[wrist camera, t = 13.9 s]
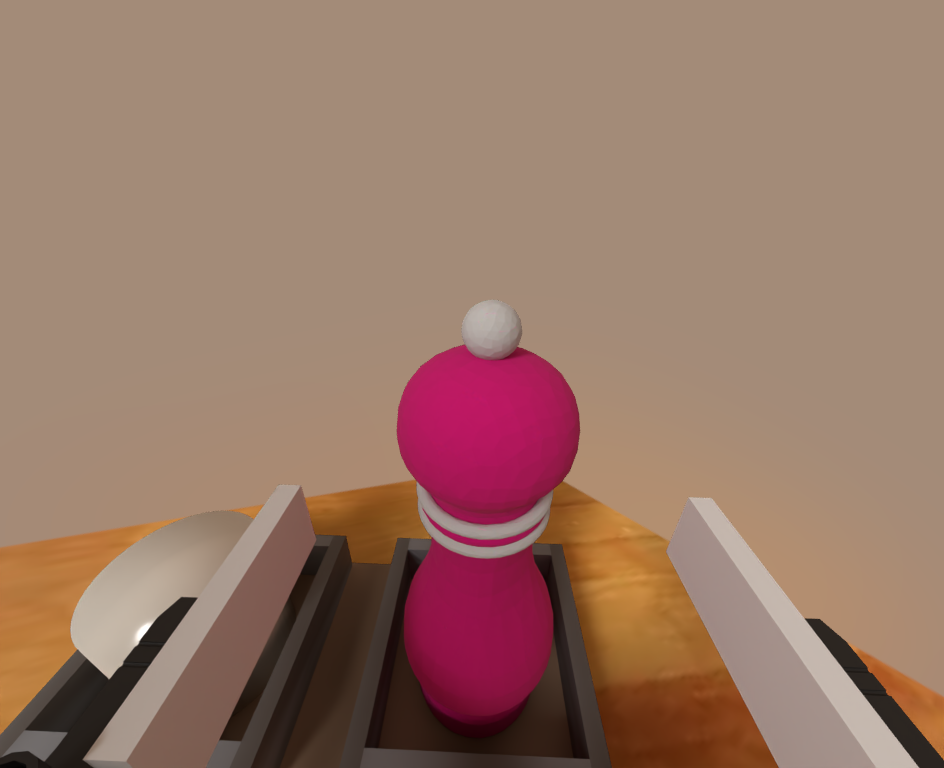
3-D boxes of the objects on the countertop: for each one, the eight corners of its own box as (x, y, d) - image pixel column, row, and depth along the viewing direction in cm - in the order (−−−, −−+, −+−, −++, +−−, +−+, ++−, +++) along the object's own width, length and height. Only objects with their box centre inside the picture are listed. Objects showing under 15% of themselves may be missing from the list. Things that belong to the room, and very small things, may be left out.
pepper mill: (486, 574, 24) (505, 269, 14) (570, 679, 19) (685, 312, 9) (387, 645, 20) (323, 291, 10) (458, 802, 15) (460, 384, 5)
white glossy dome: (108, 719, 17) (18, 645, 14) (217, 579, 23) (175, 504, 20) (241, 745, 16) (181, 674, 13) (318, 594, 22) (292, 518, 19)
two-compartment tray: (30, 804, 16) (-45, 763, 13) (203, 574, 26) (177, 526, 23) (610, 837, 15) (637, 799, 13) (561, 589, 25) (571, 542, 23)
